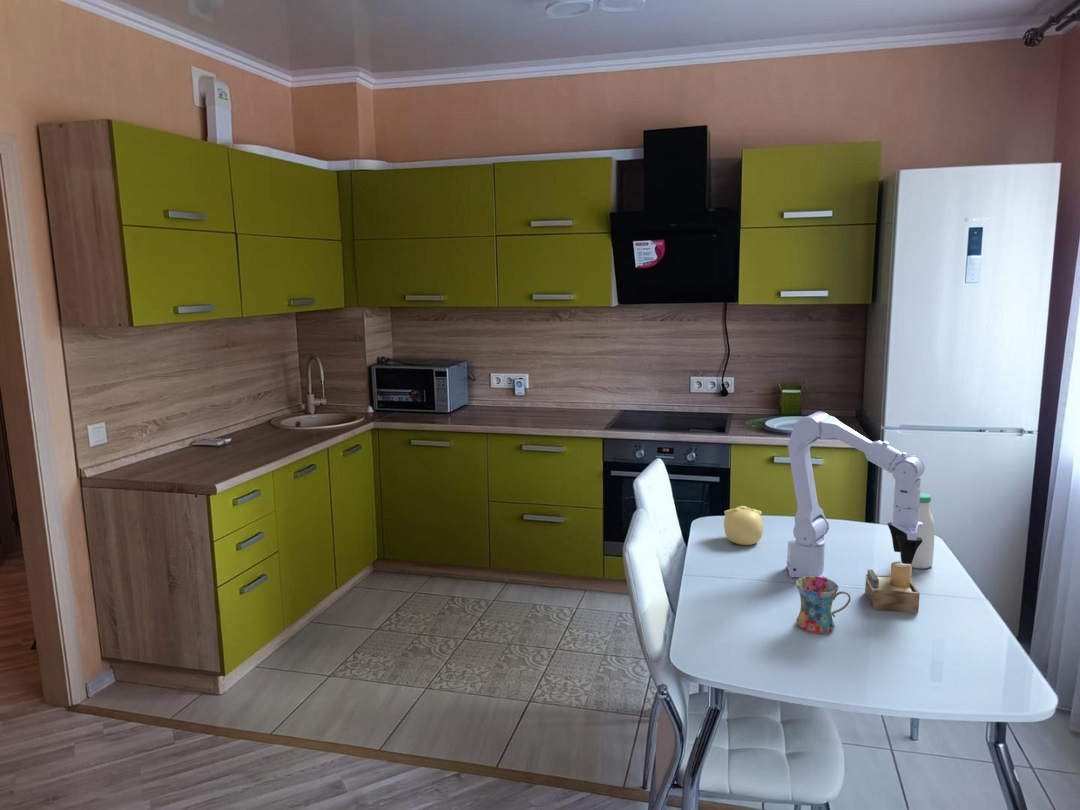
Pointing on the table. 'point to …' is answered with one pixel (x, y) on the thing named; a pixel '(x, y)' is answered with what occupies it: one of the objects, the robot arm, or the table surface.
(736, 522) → the pale yellow round lump
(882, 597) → the wooden box
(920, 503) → the milk bottle
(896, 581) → the roll-on deodorant
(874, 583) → the lid
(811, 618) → the mug
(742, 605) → the table surface
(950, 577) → the table surface
